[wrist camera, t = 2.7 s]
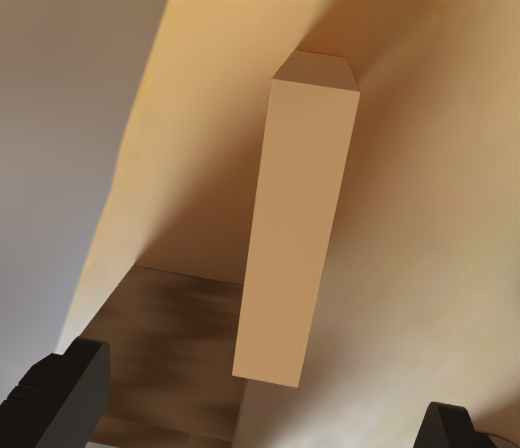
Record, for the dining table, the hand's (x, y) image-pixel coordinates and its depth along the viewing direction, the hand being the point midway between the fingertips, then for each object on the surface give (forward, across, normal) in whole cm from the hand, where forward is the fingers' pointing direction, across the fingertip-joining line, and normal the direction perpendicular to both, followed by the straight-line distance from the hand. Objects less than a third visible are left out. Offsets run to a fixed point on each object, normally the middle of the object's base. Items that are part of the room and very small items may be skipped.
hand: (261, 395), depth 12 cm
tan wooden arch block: (+20, 0, 0) cm, 21 cm away
